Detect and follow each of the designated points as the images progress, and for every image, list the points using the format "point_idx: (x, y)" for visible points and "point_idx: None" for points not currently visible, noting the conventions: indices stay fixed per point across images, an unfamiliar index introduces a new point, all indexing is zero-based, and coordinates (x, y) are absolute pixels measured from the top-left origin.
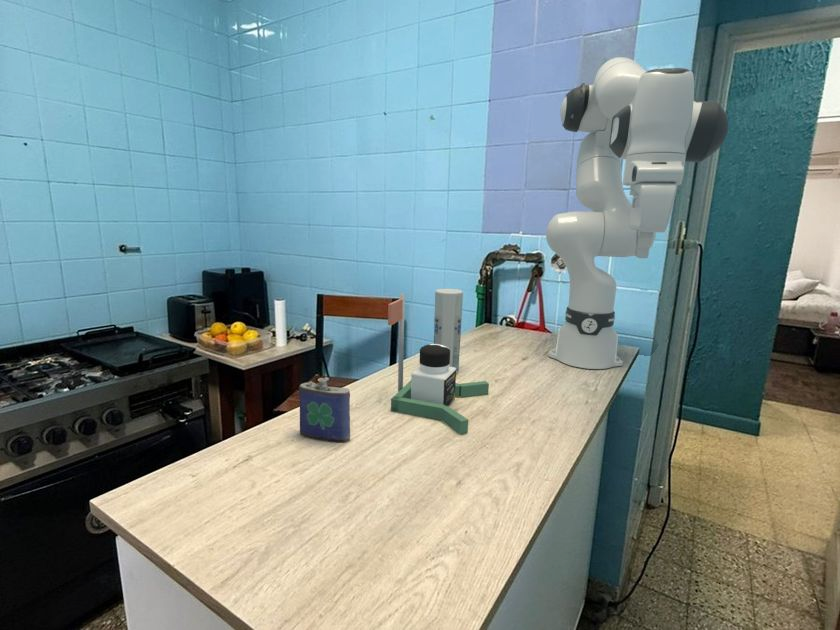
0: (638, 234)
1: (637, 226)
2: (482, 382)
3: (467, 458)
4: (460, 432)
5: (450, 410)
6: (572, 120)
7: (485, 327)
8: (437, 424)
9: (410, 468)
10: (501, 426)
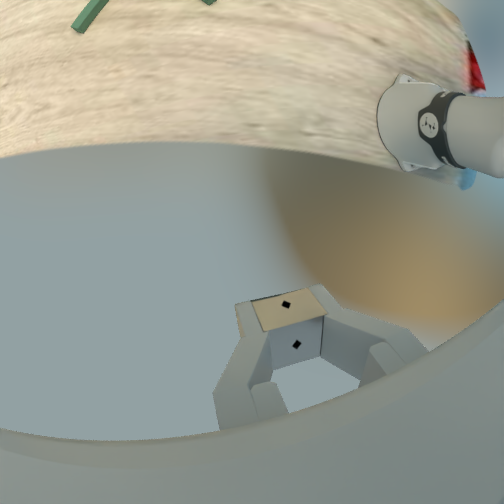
0: (273, 397)
1: (54, 458)
2: None
3: (37, 65)
4: (75, 30)
5: (93, 2)
6: None
7: (451, 14)
8: None
9: (10, 44)
10: (115, 51)
